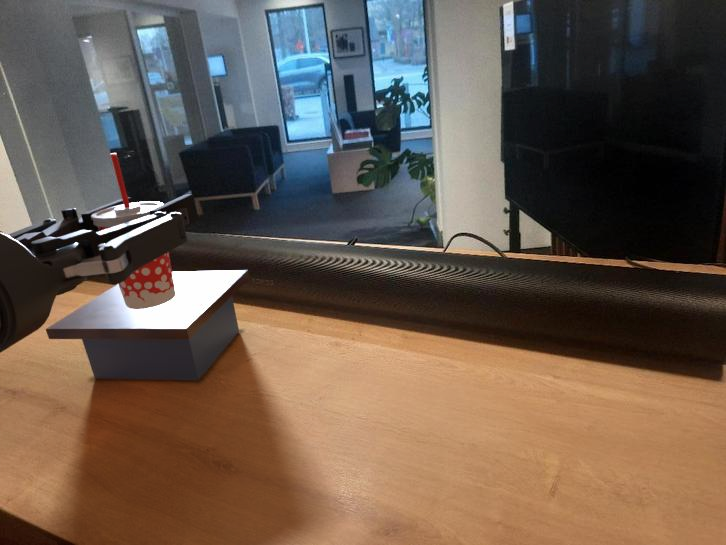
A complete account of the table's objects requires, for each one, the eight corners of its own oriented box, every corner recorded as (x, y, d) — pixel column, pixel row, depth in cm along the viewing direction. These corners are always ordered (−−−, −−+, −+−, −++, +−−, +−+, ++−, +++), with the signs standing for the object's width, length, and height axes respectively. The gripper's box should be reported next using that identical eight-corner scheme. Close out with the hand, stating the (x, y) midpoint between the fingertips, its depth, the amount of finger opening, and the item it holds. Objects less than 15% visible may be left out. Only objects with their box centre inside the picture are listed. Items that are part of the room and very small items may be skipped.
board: (48, 339, 65) (45, 329, 64) (137, 281, 83) (135, 272, 83) (189, 339, 61) (186, 328, 60) (249, 278, 79) (247, 269, 79)
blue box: (94, 378, 70) (78, 328, 67) (149, 331, 83) (137, 287, 80) (198, 380, 67) (186, 328, 64) (239, 331, 80) (230, 286, 77)
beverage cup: (190, 300, 47) (155, 150, 42) (120, 318, 44) (75, 161, 39) (177, 281, 52) (145, 146, 47) (114, 297, 49) (73, 155, 44)
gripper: (-150, 360, 32) (89, 246, 53) (111, 364, 29) (256, 241, 50) (-207, 251, 30) (68, 177, 51) (73, 240, 26) (243, 166, 47)
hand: (161, 209), depth 50 cm, fingers closed on beverage cup, 6 cm apart
